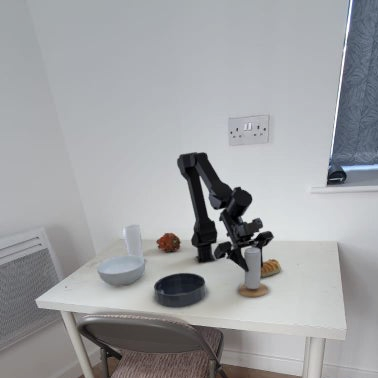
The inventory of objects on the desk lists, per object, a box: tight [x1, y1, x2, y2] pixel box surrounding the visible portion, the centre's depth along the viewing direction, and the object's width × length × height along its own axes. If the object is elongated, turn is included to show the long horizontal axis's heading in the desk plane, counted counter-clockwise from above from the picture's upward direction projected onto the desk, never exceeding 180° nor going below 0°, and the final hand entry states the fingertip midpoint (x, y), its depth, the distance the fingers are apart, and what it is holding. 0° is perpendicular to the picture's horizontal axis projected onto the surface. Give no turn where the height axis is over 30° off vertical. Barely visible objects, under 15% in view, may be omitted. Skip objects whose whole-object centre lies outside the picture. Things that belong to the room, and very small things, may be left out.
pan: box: [153, 272, 207, 308], centre depth 104 cm, size 16×16×4 cm
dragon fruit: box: [156, 232, 182, 253], centre depth 141 cm, size 8×8×12 cm
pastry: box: [260, 258, 282, 278], centre depth 112 cm, size 9×7×4 cm
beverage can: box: [243, 247, 261, 289], centre depth 99 cm, size 5×5×12 cm
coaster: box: [238, 283, 269, 298], centre depth 102 cm, size 9×9×1 cm
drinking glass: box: [121, 223, 145, 260], centre depth 131 cm, size 7×7×15 cm
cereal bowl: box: [96, 254, 146, 287], centre depth 117 cm, size 17×17×7 cm
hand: (254, 269), depth 98 cm, fingers closed on beverage can, 5 cm apart
